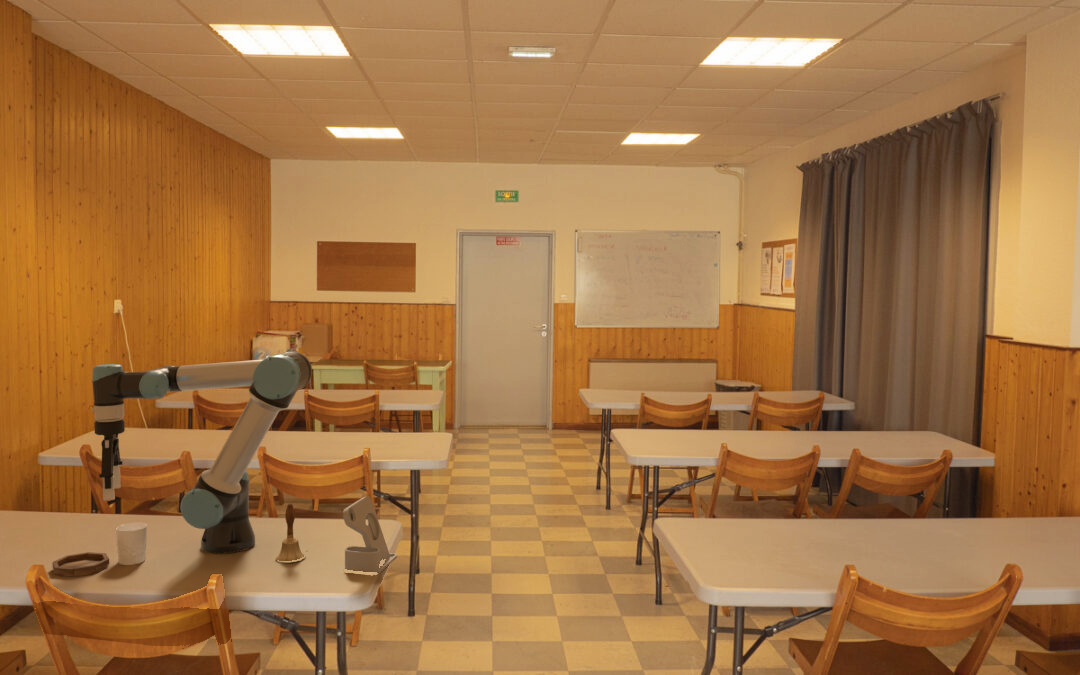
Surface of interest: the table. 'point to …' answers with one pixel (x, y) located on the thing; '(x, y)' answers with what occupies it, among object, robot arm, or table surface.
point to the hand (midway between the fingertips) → (112, 494)
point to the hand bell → (290, 539)
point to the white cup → (131, 543)
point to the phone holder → (366, 539)
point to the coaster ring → (80, 564)
